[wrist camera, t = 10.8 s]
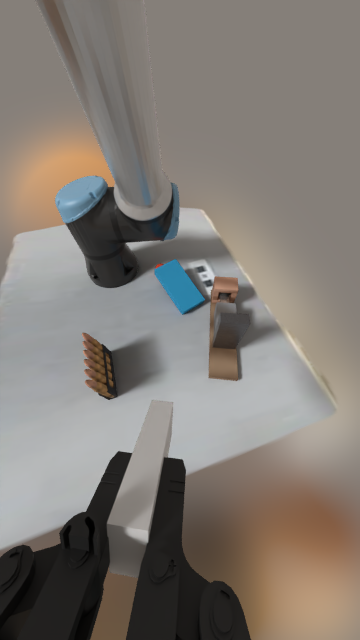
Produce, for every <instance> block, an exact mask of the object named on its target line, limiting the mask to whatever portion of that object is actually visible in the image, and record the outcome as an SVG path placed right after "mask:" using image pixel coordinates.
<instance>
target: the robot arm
mask: <svg viewBox="0 0 360 640" xmlns="http://www.w3.org/2000/svg"><path fill="white" fill-rule="evenodd" d="M35 1H36V4H37V6H38V8H39V10H40V13H41V15H42V17H43V19H44V22H45V24H46V26H47V29H48V31H49V33H50V35H51V38H52V40H53V42H54V44H55V47H56V49H57V51H58V53H59V56H60V58H61V60H62V62H63V65H64V67H65V69H66V72H67V74H68V76H69V78H70V81H71V83H72V85H73V87H74V90H75V92H76V94H77V96H78V99H79V101H80V103H81V106H82V108H83V110H84V112H85V115H86V117H87V119H88V121H89V124H90V126H91V128H92V130H93V133H94V135H95V137H96V139H97V142H98V144H99V146H100V148H101V151H102V153H103V155H104V157H105V160H106V162H107V164H108V167H109V169H110V171H111V173H112V176H113V178H114V180H115V186H114V187H108V185H107V183H106V182H105V180H104V179H103V178H102V177H98V176H87V177H83V178H80V179H77V180H75V181H72V182H71V183H69V184H67V185H66V186H64V187H63V188H62V189H61V190H60V191H59V192H58V193H57V195H56V198H55V203H56V206H57V209H58V211H59V213H60V215H61V217H62V219H63V222H64V223H65V224H66V225H67V227H68V229H69V230H70V232H71V234H72V235H73V237H74V239H75V240H76V242H77V244H78V246H79V247H80V249H81V251H82V252H83V254H84V256H85V261H86V267H87V272H88V275H89V276H90V278H91V280H92V281H93V282H94V283H95V284H96V285H98V286H101V287H106V288H112V287H118V286H121V285H124V284H126V283H127V282H129V281H130V280H132V279H133V278H134V277H135V275H136V274H137V271H138V262H137V259H136V257H135V255H134V254H133V252H132V251H131V250H130V248H129V247H128V246H127V244H126V243H127V242H142V241H157V240H160V241H164V240H168V239H173V238H175V236H176V235H177V232H178V226H179V192H178V187H177V185H176V184H174V183H171V182H170V180H169V178H168V176H167V175H166V174H165V172H164V171H163V170H162V164H161V153H160V144H159V135H158V125H157V116H156V107H155V97H154V88H153V79H152V69H151V60H150V51H149V42H148V32H147V23H146V13H145V4H144V0H35ZM172 416H173V402H165V401H156V400H152V402H151V404H150V407H149V410H148V412H147V415H146V418H145V421H144V423H143V426H142V429H141V432H140V434H139V437H138V440H137V442H136V445H135V448H134V451H133V453H127V452H120V451H118V452H117V453H116V455H115V456H114V457H113V458H112V459H111V460H110V462H109V464H108V466H107V468H106V471H105V473H104V475H103V477H102V479H101V482H100V483H99V485H98V487H97V490H96V492H95V494H94V496H93V498H92V500H91V502H90V504H89V506H88V509H87V511H86V512H81V513H79V514H77V515H75V516H73V517H72V518H71V519H70V520H69V521H68V522H67V523H66V524H65V525H64V527H63V529H62V530H61V531H60V533H59V534H60V540H61V544H58V545H56V546H53V547H50V548H46V549H43V550H39V551H36V552H33V551H32V550H31V548H30V547H29V546H26V545H21V546H17V547H14V548H12V549H11V550H9V551H8V552H6V553H5V554H3V556H1V557H0V640H90V638H91V635H92V631H93V628H94V625H95V621H96V618H97V614H98V611H99V608H100V604H101V601H102V595H103V590H104V588H103V584H104V580H105V577H106V574H107V571H108V567H109V570H110V573H115V574H121V575H126V576H131V577H136V578H138V582H137V587H136V592H135V597H134V602H133V607H132V612H131V617H130V622H129V627H128V632H127V637H126V640H251V639H250V635H249V631H248V627H247V624H246V620H245V616H244V612H243V610H242V607H241V604H240V602H239V599H238V597H237V596H236V594H235V593H234V591H233V590H232V589H231V587H229V586H228V585H227V584H225V583H224V582H221V581H213V582H212V583H210V582H208V581H207V580H206V579H204V578H203V577H202V576H200V575H199V574H198V573H196V572H195V571H194V570H193V569H192V568H191V567H190V565H189V563H188V562H187V560H186V558H185V556H184V553H183V548H182V522H183V507H184V506H183V504H184V490H185V475H186V469H185V466H184V463H183V460H182V459H175V458H168V453H169V447H170V441H171V435H172Z"/></svg>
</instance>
